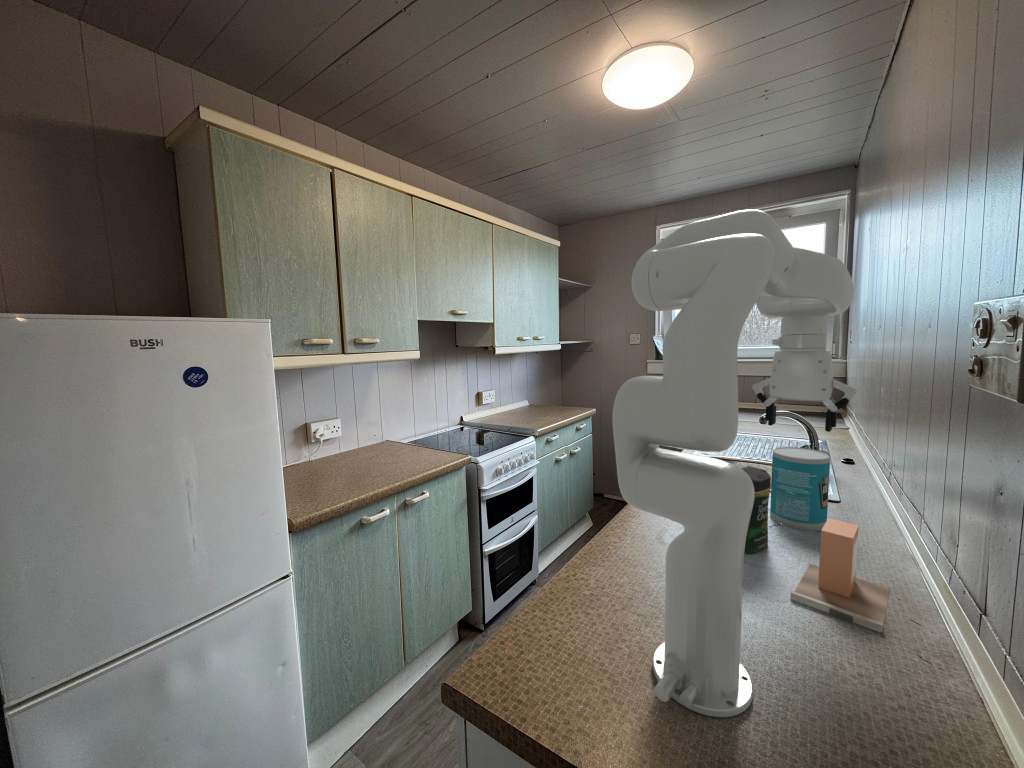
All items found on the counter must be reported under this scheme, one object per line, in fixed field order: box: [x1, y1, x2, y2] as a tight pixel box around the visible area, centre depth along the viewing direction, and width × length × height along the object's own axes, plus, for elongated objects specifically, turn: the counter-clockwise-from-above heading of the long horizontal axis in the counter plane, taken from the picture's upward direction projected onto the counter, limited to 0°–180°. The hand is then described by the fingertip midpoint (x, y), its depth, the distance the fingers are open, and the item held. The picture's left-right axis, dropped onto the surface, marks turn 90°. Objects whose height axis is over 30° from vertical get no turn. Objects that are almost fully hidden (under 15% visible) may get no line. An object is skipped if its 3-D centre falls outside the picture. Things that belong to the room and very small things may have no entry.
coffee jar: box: [740, 465, 772, 555], centre depth 90 cm, size 10×8×19 cm
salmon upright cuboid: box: [818, 517, 859, 598], centre depth 75 cm, size 5×7×11 cm, turn 134°
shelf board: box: [790, 563, 891, 634], centre depth 73 cm, size 16×12×2 cm
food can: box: [769, 446, 831, 531], centre depth 104 cm, size 12×12×18 cm
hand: (799, 427), depth 83 cm, fingers open, 9 cm apart
